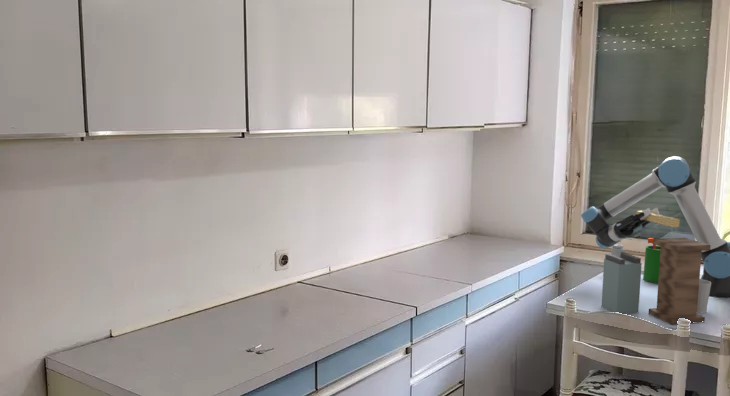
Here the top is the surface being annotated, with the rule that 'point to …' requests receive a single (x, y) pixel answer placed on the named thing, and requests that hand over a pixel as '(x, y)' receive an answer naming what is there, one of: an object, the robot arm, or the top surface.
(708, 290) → the cup
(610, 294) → the block
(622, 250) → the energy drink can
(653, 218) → the brass bar
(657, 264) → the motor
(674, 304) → the walnut stand
